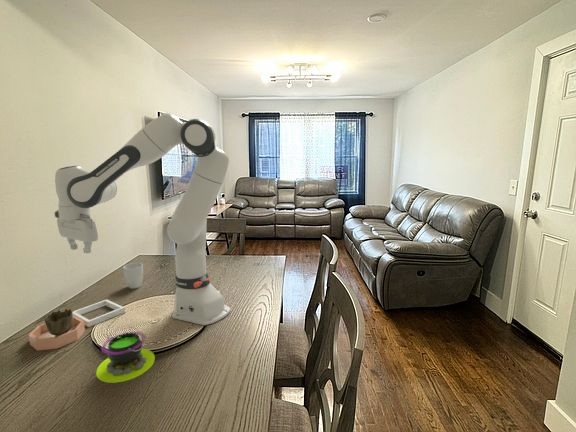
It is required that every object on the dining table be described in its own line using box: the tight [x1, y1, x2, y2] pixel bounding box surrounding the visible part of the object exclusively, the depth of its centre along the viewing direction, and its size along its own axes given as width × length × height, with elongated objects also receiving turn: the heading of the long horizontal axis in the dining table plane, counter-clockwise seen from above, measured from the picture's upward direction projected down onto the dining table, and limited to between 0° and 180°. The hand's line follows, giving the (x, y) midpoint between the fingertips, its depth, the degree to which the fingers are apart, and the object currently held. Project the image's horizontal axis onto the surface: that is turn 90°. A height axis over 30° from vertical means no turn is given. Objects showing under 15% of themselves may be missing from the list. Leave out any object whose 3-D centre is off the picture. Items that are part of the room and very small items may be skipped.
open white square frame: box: [72, 299, 126, 328], centre depth 118 cm, size 13×13×2 cm
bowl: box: [28, 317, 86, 351], centre depth 103 cm, size 14×14×4 cm
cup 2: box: [43, 308, 74, 337], centre depth 101 cm, size 8×7×8 cm
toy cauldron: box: [95, 325, 156, 384], centre depth 89 cm, size 15×15×11 cm
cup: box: [122, 262, 144, 290], centre depth 144 cm, size 8×8×10 cm
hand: (80, 251), depth 112 cm, fingers open, 8 cm apart
